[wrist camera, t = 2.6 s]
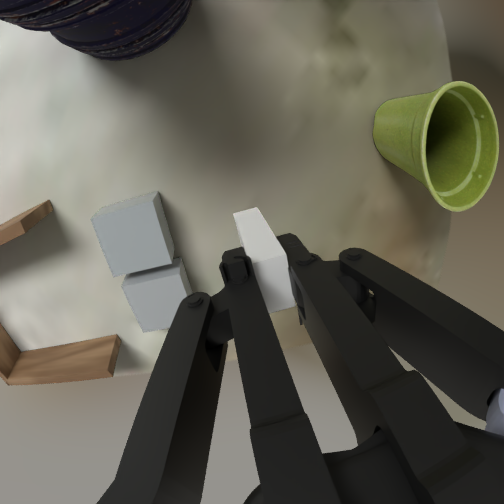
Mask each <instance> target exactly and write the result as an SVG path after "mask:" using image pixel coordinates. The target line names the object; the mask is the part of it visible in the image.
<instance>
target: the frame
mask: <svg viewBox="0 0 504 504" xmlns="http://www.w3.org/2000/svg"><path fill="white" fill-rule="evenodd" d="M51 211H53V208H52V206H51V203H50V200H47V201H45V202H43V203H41V204H39V205H37V206H35V207H33V208H31V209H29V210H27V211H25V212H23V213H22V214H20V215H18V216H16V217H14V218H12V219H10V220H9V221H7V222H5V223H3V224H2V225H0V245H2V244H4V243H6V242H8V241H10V240H12V239H14V238H16V237H18V236H20V235H22V234H24V233H26V232H27V231H28V230H29V229H31V228H32V227H33V226H34V225H35V224H37V223H38V222H39V221H40V220H41V219H43V218H44V217H45V216H46V215H48V214H49V213H50V212H51ZM120 343H121V340H120V339H119V337H118V336H117V334H116V335H111V336H106V337H101V338H96V339H91V340H86V341H81V342H76V343H70V344H65V345H59V346H54V347H48V348H42V349H36V350H30V351H23V352H21V351H20V350H19V349H18V347H17V346H16V345H15V343H14V342H13V341H12V339H11V338H10V337H9V335H8V334H7V332H6V331H5V329H4V328H3V326H2V325H1V324H0V377H1V378H2V379H3V380H4V381H5V382H6V383H7V384H8V385H32V384H46V383H47V384H48V383H61V382H72V381H82V380H91V379H99V378H107V377H113V373H114V369H115V364H116V360H117V356H118V352H119V347H120Z"/></svg>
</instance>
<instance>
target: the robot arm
mask: <svg viewBox="0 0 504 504" xmlns="http://www.w3.org/2000/svg"><path fill="white" fill-rule="evenodd" d="M233 215H234V219H235V223H236V227H237V231H238V234H239V238H240V242H241V246H242V247H239V248H236V249H232V250H228V251H225V252H224V254H223V256H222V262H221V263H220V266H219V268H220V271H221V274H222V278H223V281H224V284H225V287H224V288H223V289H222V290H221V291H220V292H219V293H217V294H215V295H213V296H211V297H210V296H209V295H208V294H207V293H204V292H197V293H193V294H191V295H188V296H187V297H185V298H184V299H183V300H182V301H181V303H180V304H179V307H178V309H177V312H176V314H175V316H174V319H173V321H172V324H171V326H170V329H169V331H168V333H167V336H166V338H165V341H164V343H163V346H162V348H161V351H160V353H159V356H158V359H157V361H156V364H155V366H154V369H153V372H152V374H151V377H150V379H149V382H148V385H147V388H146V390H145V393H144V395H143V398H142V401H141V404H140V407H139V409H138V412H137V415H136V417H135V420H134V423H133V426H132V429H131V432H130V435H129V438H128V440H127V443H126V446H125V449H124V452H123V455H122V459H121V461H120V465H119V468H118V471H117V474H116V477H115V480H114V481H113V483H112V484H111V485H110V487H109V488H108V489H107V491H106V492H105V493H104V495H103V496H102V497H101V498H100V500H99V501H98V502H97V504H200V502H201V498H202V492H203V486H204V480H205V475H206V468H207V463H208V456H209V451H210V445H211V439H212V433H213V428H214V422H215V416H216V410H217V404H218V398H219V393H220V388H221V382H222V376H223V371H224V365H225V359H226V354H227V348H228V342H227V341H229V340H231V339H233V338H234V341H235V347H236V352H237V357H238V363H239V368H240V373H241V378H242V383H243V388H244V393H245V398H246V403H247V408H248V413H249V418H250V423H251V429H250V438H251V443H252V448H253V453H254V457H255V462H256V466H257V471H258V475H259V480H260V485H258V486H257V488H255V489H254V490H253V491H252V492H251V494H250V495H249V496H248V497H247V499H246V500H245V502H244V504H504V331H503V330H501V329H499V328H498V327H496V326H495V325H493V324H492V323H490V322H489V321H487V320H486V319H484V318H482V317H481V316H479V315H478V314H476V313H474V312H473V311H471V310H470V309H468V308H466V307H465V306H463V305H461V304H460V303H458V302H456V301H455V300H453V299H451V298H450V297H448V296H446V295H445V294H443V293H441V292H440V291H438V290H436V289H435V288H433V287H431V286H429V285H428V284H426V283H424V282H423V281H421V280H419V279H417V278H416V277H414V276H412V275H410V274H408V273H407V272H405V271H403V270H401V269H399V268H398V267H396V266H394V265H392V264H390V263H389V262H387V261H385V260H383V259H381V258H379V257H377V256H376V255H374V254H372V253H370V252H368V251H366V250H364V249H361V248H349V249H346V250H344V251H342V252H341V253H340V254H339V260H336V261H323V260H322V259H321V258H320V257H319V256H318V255H316V254H313V253H309V251H308V250H307V249H306V247H305V246H304V245H303V244H302V242H301V241H300V240H299V239H298V237H297V236H296V235H293V234H291V233H288V234H284V235H281V236H277V237H275V235H274V233H273V232H272V230H271V229H270V227H269V225H268V224H267V222H266V221H265V219H264V217H263V216H262V214H261V213H260V211H259V210H258V208H257V207H256V208H252V209H248V210H244V211H240V212H237V213H233ZM369 289H370V290H371V291H372V292H373V293H374V295H373V294H371V293H369ZM294 299H295V301H296V302H297V307H298V313H299V319H300V325H302V324H303V323H304V325H305V327H306V329H307V331H308V333H309V335H310V338H311V340H312V342H313V344H314V346H315V348H316V350H317V352H318V354H319V356H320V358H321V360H322V363H323V365H324V367H325V369H326V371H327V373H328V375H329V377H330V380H331V382H332V384H333V386H334V388H335V390H336V392H337V394H338V397H339V399H340V401H341V403H342V405H343V407H344V409H345V412H346V414H347V416H348V418H349V420H350V422H351V425H352V426H353V429H354V431H355V434H356V438H357V443H358V446H357V447H356V448H354V449H352V450H346V451H340V452H332V453H323V454H322V452H321V449H320V447H319V444H318V441H317V439H316V436H315V433H314V431H313V428H312V425H311V423H310V420H309V418H308V416H307V414H306V413H305V412H304V409H303V407H302V404H301V401H300V399H299V396H298V393H297V390H296V387H295V385H294V382H293V379H292V376H291V374H290V371H289V368H288V365H287V363H286V360H285V357H284V355H283V351H282V349H281V346H280V343H279V340H278V338H277V335H276V332H275V329H274V326H273V324H272V321H271V318H270V315H269V314H270V313H273V312H277V311H280V310H284V309H287V308H290V307H294V306H295V301H294ZM302 321H303V322H302ZM388 346H389V347H390V348H391V349H392V350H394V351H395V352H396V353H397V354H398V355H400V356H401V357H402V358H403V359H404V360H406V361H407V362H408V363H409V364H411V365H412V366H413V367H414V368H415V369H416V370H418V371H419V372H420V373H421V374H423V375H424V376H425V377H426V378H427V379H428V380H430V381H431V382H432V383H433V384H434V385H436V386H437V387H438V388H439V389H440V390H442V391H443V392H444V393H445V394H446V395H447V396H449V397H450V398H451V399H452V400H453V401H454V402H456V403H457V404H458V405H459V406H461V407H462V408H463V409H465V410H466V411H467V412H469V413H470V414H472V415H474V416H476V417H477V418H479V419H482V420H484V421H486V423H487V425H486V428H485V430H481V429H478V428H474V427H471V426H468V425H465V424H462V423H458V422H455V421H453V419H452V418H451V417H450V415H449V413H448V412H447V410H446V409H445V407H444V406H443V405H442V403H441V402H440V400H439V399H438V397H437V396H436V395H435V393H434V392H433V390H432V389H431V387H430V386H429V385H428V383H427V382H426V380H425V379H424V378H423V376H422V375H421V374H420V373H419V372H417V371H415V370H412V371H406V370H405V369H404V368H403V366H402V365H401V364H400V362H399V361H398V359H397V358H396V357H395V355H394V354H393V352H392V351H391V350H390V348H389V347H388Z"/></svg>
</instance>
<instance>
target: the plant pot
mask: <svg viewBox="0 0 504 504" xmlns="http://www.w3.org/2000/svg"><path fill="white" fill-rule="evenodd" d="M373 139H374V142H375V145H376V147H377V149H378V151H379V152H380V154H381V155H382V156H383V157H384V158H385V159H387V160H388V161H390V162H391V163H393V164H395V165H396V166H398V167H399V168H401V169H402V170H404V171H405V172H407V173H408V174H410V175H411V176H413V177H414V178H416V179H417V180H419V181H420V182H421V183H423V184H424V186H425V187H426V188H427V189H428V190H429V192H430V193H431V195H432V196H433V198H434V199H435V200H436V202H437V203H438V204H440V205H441V206H442V207H444V208H445V209H447V210H450V211H454V212H459V211H465V210H467V209H469V208H471V207H472V206H474V205H475V204H476V203H477V202H478V201H479V200H480V199H481V198H482V197H483V195H484V194H485V193H486V191H487V190H488V188H489V186H490V184H491V181H492V179H493V176H494V174H495V170H496V165H497V162H498V154H499V135H498V127H497V122H496V119H495V116H494V113H493V110H492V108H491V106H490V104H489V102H488V101H487V99H486V98H485V96H484V95H483V94H482V93H481V92H480V91H479V90H478V89H477V88H476V87H474V86H473V85H471V84H469V83H467V82H463V81H454V82H450V83H447V84H445V85H444V86H442V87H441V88H440V89H437V90H435V91H433V92H432V93H426V94H420V95H414V96H407V97H401V98H395V99H391V100H388V101H386V102H385V103H383V104H382V105H381V106H380V107H379V109H378V110H377V112H376V114H375V121H374V129H373Z"/></svg>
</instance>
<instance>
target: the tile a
mask: <svg viewBox="0 0 504 504" xmlns="http://www.w3.org/2000/svg"><path fill="white" fill-rule="evenodd" d="M91 221H92V224H93V227H94V230H95V232H96V235H97V238H98V240H99V243H100V245H101V248H102V251H103V253H104V256H105V258H106V260H107V263H108V265H109V268H110V270H111V272H112V275H113V277H116V276H120V275H124V274H129V273H133V272H137V271H142V270H146V269H150V268H154V267H159V266H163V265H167V264H172V260H173V254H174V249H175V247H174V244H173V241H172V237H171V234H170V231H169V227H168V224H167V221H166V217H165V214H164V210H163V207H162V203H161V200H160V196H159V192H158V191H156V192H152V193H149V194H145V195H141V196H138V197H134V198H131V199H128V200H124V201H121V202H117V203H114V204H111V205H108V206H104V207H102V208H101V209H100V210H99V211H98V212H97V213H96V214H95V215H94V216H93V217H92V218H91Z"/></svg>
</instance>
